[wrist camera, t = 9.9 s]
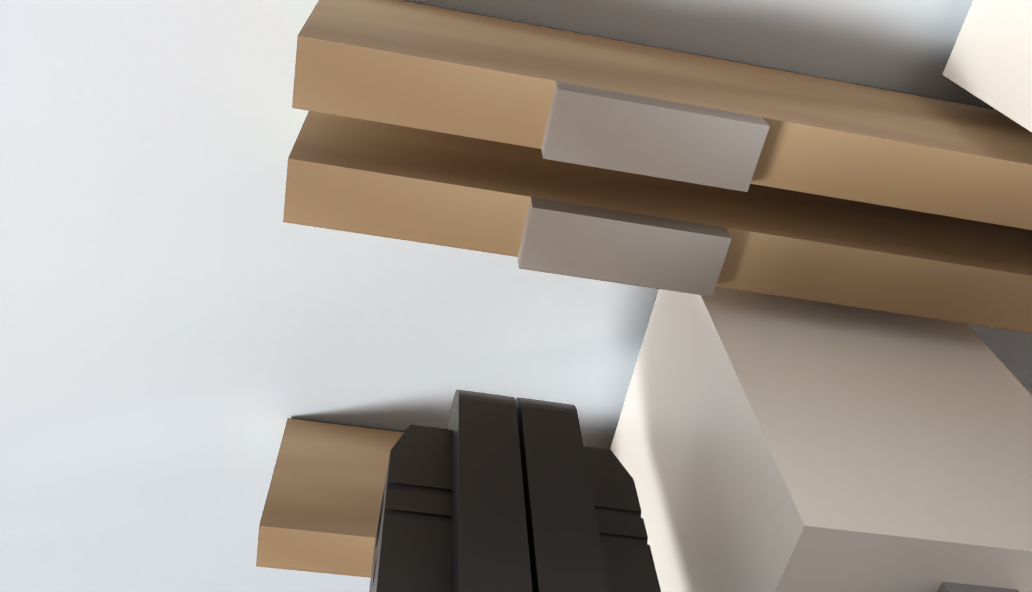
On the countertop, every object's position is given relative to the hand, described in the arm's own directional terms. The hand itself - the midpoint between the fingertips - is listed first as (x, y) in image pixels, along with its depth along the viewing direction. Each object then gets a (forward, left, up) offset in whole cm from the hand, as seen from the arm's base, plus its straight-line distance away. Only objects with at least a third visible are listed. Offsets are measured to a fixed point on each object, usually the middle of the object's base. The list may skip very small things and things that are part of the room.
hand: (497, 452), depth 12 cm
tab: (0, +4, -3) cm, 5 cm away
